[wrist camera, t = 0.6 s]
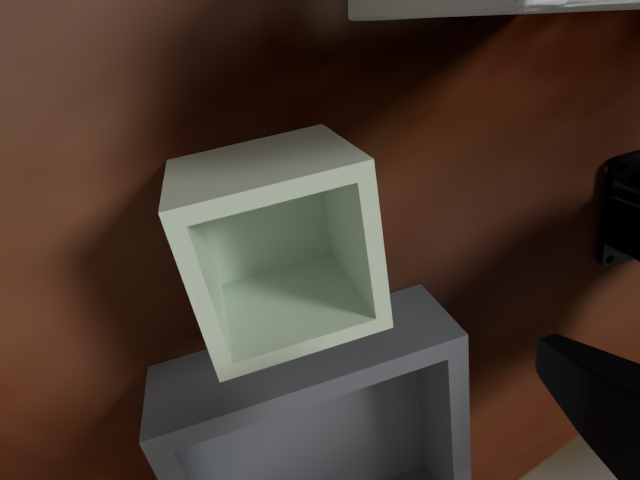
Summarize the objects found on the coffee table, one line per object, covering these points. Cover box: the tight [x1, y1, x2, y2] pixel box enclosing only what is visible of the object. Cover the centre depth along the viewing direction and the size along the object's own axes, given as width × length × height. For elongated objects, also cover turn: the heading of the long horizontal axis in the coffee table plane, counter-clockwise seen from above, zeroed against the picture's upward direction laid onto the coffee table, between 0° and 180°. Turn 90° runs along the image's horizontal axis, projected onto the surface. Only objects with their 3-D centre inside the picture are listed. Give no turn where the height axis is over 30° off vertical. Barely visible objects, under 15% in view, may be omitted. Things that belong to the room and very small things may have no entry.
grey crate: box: [139, 284, 471, 480], centre depth 23 cm, size 14×14×4 cm
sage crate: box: [158, 124, 393, 382], centre depth 17 cm, size 6×6×6 cm
